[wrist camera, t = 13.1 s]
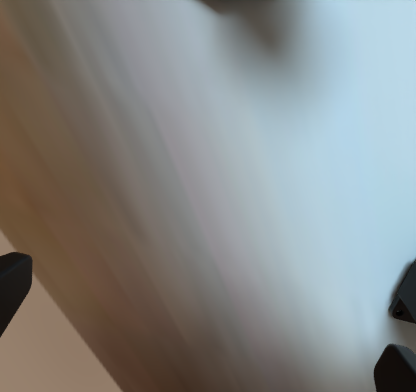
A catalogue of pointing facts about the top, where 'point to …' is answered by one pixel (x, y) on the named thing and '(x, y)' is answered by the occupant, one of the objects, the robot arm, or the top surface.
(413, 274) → the robot arm
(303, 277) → the top surface
